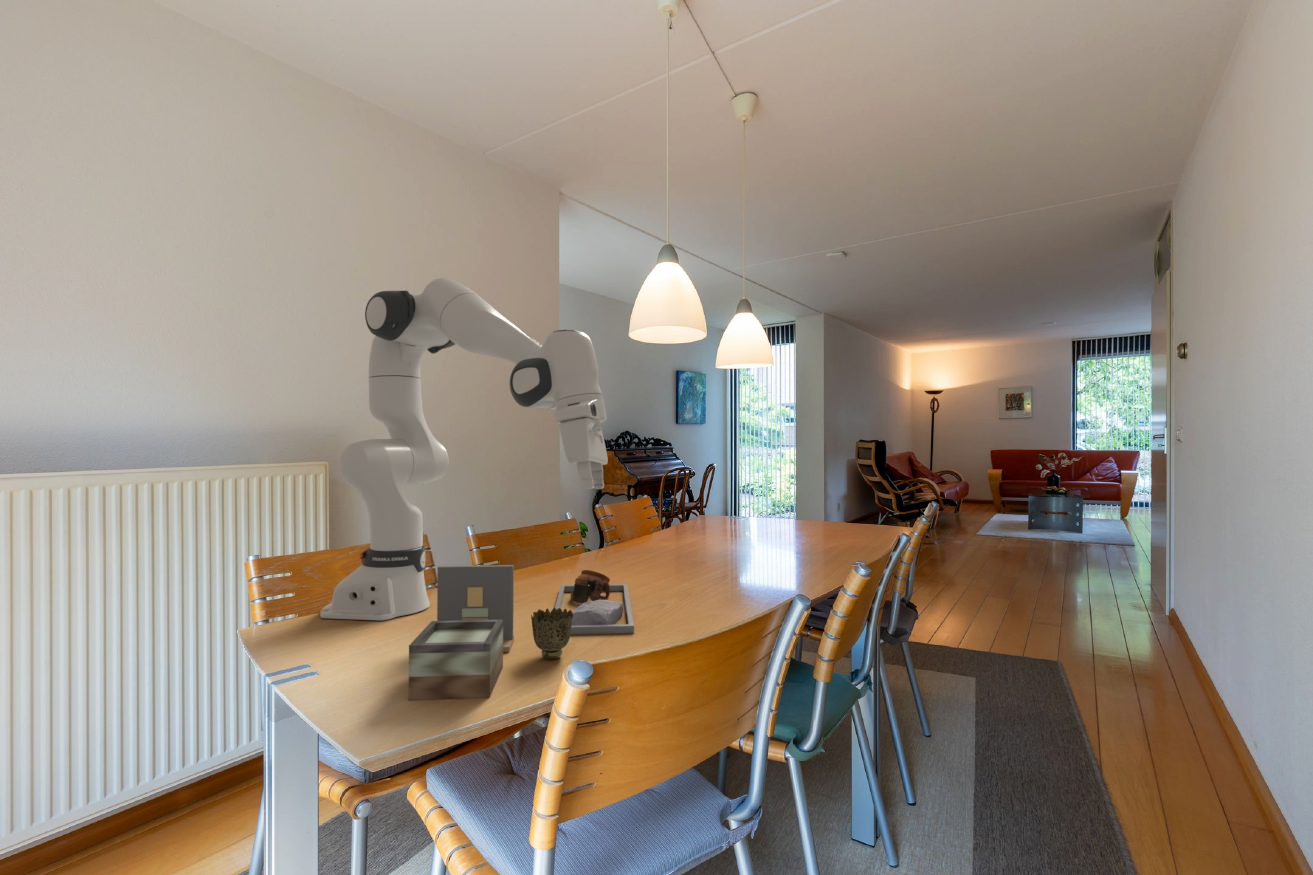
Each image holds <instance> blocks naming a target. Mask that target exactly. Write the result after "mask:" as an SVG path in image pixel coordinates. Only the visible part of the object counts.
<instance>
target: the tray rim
mask: <svg viewBox="0 0 1313 875" xmlns="http://www.w3.org/2000/svg"><path fill="white" fill-rule="evenodd" d="M574 585H575V584H569V585H568V584H566V585H565V584H562V585H560V587H559V588H560V589H559V592H558V595H557V598H556V603H555V606H554V608H556V610H557V609H559V608H560V609H561V610H562V605H563V601H564V596H565V593H571V592H573V591H574ZM609 585H610V587H609V588H610V592H623V598H624V605H625V607H624V608H625V613H626V620H627V624H622V623H621V624H614V625H578V626H571V633H570V636H571V635H572V636H573V635H574V636H575V635H611V634H613V635H614V634H616V635H617V634H620V635H621V634H635V623H634V617H633V616H634V615H633V611H632V605H631V600H630V594H629V587H628V583H624V584H622V583H621V584H609ZM588 586H590V585H588ZM602 592H604V591H603V590H602Z"/></svg>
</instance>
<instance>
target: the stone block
mask: <svg viewBox="0 0 1313 875" xmlns="http://www.w3.org/2000/svg"><path fill="white" fill-rule="evenodd" d="M572 613H573V617H572V626H578V625H616V623H617V622H618V621H619V620H620V618H622V616H623V613H624V602H622V601H619V602H618V601H613V600H609V599H599V600H596V601H592V600H591V601H587V602H586V603H583V604H581V605H579V606H577V607H576V608H575V609H574V611H573V612H572Z"/></svg>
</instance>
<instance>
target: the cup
mask: <svg viewBox="0 0 1313 875" xmlns="http://www.w3.org/2000/svg"><path fill="white" fill-rule="evenodd" d="M572 617H573V613H572V609H570V610H567V608H564V609H563V610H562V608H561V609H560V608H559V609H557V610H556V608H555V607H554V608H552V610H551V611H550V610H549V608H546V609H545V610H542V609H540V608H539V609H537V611H533V612H532V614H531V615H530V618H531V627H532V628H531V629H532V636H533V640H534V643H535V645H536V647H537V648H538V649H539V650H541V652H540V654H541V656H542V658H543V659H545V660H548V661H549V660H550V661H551V660H553V661H554V660H556V659H560V657H562V655H563V650H562V649H564V648H565V647H566V646H567V645H568V643H569V640H570V638H571V637H570V636H571V635H570V633H571V626H572Z"/></svg>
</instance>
